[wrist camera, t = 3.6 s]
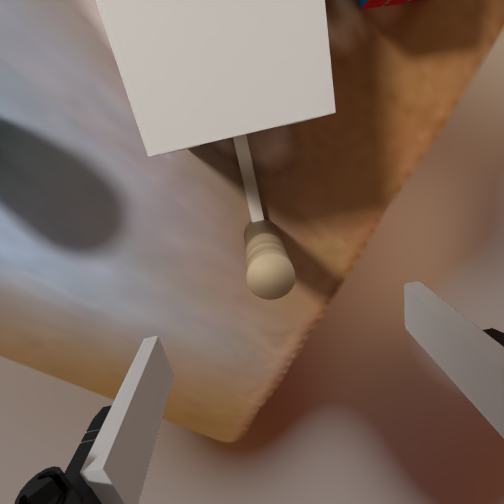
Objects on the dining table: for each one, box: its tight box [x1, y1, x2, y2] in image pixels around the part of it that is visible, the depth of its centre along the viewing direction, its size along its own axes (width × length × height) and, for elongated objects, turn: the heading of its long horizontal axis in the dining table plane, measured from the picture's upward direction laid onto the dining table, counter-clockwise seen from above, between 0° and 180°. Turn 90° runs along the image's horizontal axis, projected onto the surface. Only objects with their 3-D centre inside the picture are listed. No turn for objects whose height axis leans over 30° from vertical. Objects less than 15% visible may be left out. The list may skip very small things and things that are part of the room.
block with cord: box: [233, 134, 296, 300], centre depth 22 cm, size 18×6×10 cm, turn 12°
